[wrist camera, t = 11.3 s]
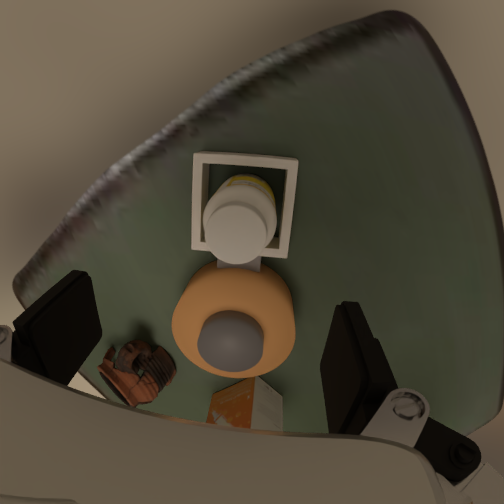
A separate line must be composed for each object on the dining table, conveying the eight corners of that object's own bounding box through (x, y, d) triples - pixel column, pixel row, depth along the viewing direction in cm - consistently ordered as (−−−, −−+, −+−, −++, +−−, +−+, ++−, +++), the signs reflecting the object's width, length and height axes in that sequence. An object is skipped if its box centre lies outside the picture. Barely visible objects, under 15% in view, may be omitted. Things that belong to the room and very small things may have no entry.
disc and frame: (314, 160, 26) (328, 169, 19) (284, 352, 34) (286, 395, 28) (184, 150, 26) (157, 157, 20) (186, 342, 35) (171, 382, 28)
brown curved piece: (182, 386, 39) (144, 423, 33) (137, 349, 42) (100, 380, 37) (178, 342, 32) (127, 388, 26) (125, 299, 35) (76, 335, 29)
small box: (255, 372, 36) (248, 458, 24) (283, 396, 38) (284, 476, 26) (210, 393, 38) (193, 470, 26) (239, 414, 40) (230, 488, 28)
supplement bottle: (235, 237, 29) (220, 286, 20) (207, 189, 27) (176, 219, 18) (285, 212, 28) (292, 252, 19) (257, 161, 26) (250, 177, 17)
